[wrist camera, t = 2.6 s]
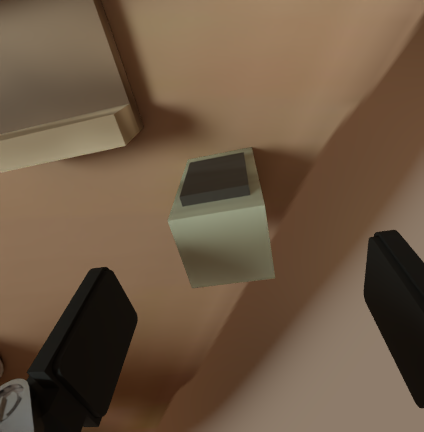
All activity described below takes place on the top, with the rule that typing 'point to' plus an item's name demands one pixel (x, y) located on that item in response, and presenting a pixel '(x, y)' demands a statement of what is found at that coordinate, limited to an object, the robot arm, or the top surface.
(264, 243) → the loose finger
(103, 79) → the rail board
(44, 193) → the top surface
